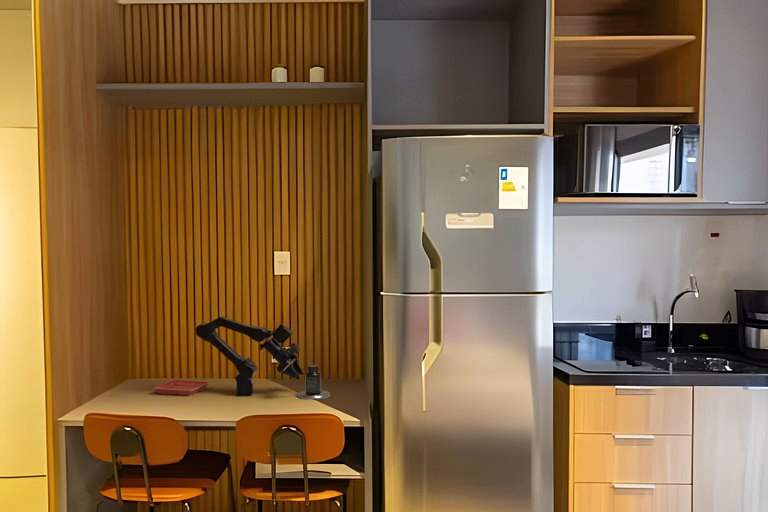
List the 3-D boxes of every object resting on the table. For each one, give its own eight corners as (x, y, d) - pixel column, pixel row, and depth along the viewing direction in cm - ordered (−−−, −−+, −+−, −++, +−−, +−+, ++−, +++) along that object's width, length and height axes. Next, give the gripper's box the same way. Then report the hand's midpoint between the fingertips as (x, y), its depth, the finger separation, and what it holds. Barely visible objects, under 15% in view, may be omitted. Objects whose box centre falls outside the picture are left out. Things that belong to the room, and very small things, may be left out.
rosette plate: (297, 400, 275) (297, 397, 275) (297, 392, 289) (297, 390, 289) (330, 399, 277) (330, 396, 277) (329, 391, 291) (329, 389, 291)
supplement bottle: (309, 391, 287) (309, 364, 287) (323, 392, 285) (323, 365, 284) (302, 394, 281) (302, 366, 281) (316, 395, 278) (316, 367, 278)
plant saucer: (210, 388, 299) (210, 381, 299) (191, 397, 281) (191, 389, 281) (173, 386, 302) (173, 379, 302) (152, 395, 284) (152, 388, 284)
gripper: (284, 340, 274) (310, 367, 273) (293, 334, 293) (317, 359, 292) (265, 359, 275) (291, 386, 274) (276, 351, 293) (300, 377, 293)
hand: (301, 376), depth 283 cm, fingers open, 9 cm apart
